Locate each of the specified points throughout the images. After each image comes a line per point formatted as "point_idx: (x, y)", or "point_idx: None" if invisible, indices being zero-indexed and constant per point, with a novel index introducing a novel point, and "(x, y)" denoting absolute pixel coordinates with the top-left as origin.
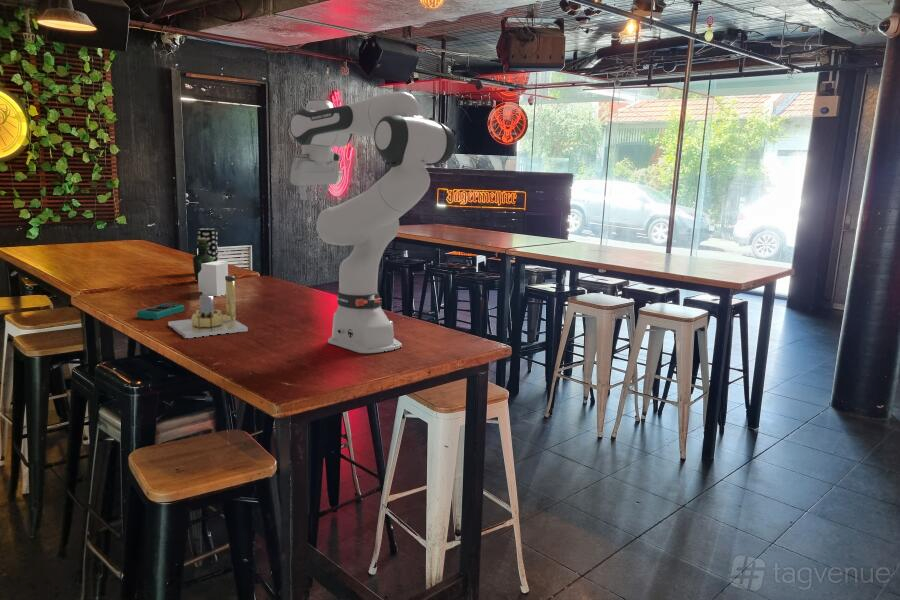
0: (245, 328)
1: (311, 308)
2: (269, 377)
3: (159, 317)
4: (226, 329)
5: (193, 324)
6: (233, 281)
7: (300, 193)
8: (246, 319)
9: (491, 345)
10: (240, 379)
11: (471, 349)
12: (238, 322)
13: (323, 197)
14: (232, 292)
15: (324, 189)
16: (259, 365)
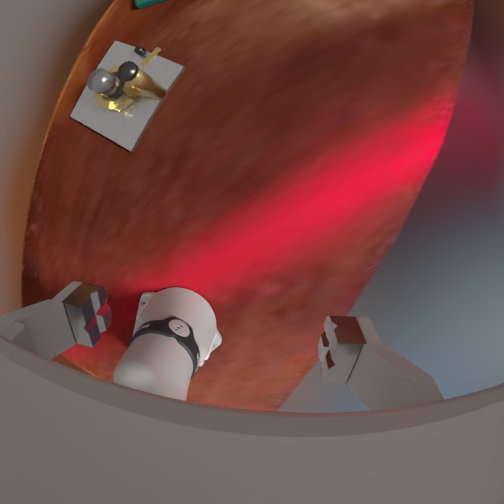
0: (128, 149)
1: (340, 143)
2: (39, 295)
3: (144, 6)
4: (108, 135)
5: None
6: (129, 81)
7: (49, 300)
8: (198, 93)
9: None
10: (26, 276)
11: None
12: (149, 115)
13: (319, 356)
14: (136, 87)
15: (378, 389)
16: (49, 268)
